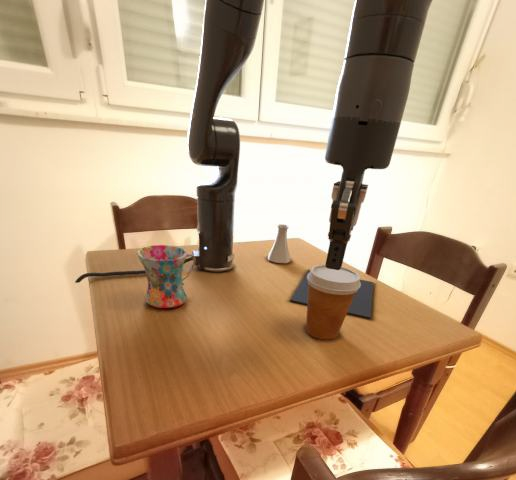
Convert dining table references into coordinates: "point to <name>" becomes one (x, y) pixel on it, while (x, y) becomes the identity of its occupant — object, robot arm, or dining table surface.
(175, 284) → the mug
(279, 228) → the flask
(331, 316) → the disposable coffee cup
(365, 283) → the mat
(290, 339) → the dining table surface
